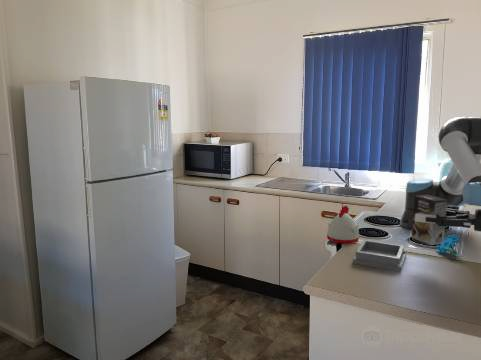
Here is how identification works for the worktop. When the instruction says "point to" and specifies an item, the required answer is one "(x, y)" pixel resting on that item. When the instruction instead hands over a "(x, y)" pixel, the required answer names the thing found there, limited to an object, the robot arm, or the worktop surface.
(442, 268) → the worktop surface
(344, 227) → the kitchen timer
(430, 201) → the coffee box
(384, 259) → the housing
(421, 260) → the worktop surface
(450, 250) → the gear
